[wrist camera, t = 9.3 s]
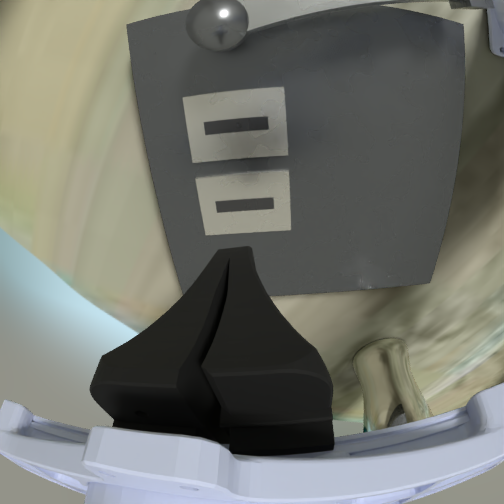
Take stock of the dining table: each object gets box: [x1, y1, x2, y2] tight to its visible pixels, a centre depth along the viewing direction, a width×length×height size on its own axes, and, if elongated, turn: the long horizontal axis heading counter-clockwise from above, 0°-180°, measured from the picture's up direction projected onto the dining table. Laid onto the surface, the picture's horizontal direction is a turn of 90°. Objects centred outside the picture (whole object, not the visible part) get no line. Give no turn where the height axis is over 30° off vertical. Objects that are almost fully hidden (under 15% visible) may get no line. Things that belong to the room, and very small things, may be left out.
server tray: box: [127, 5, 465, 296], centre depth 16 cm, size 18×18×4 cm
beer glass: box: [353, 338, 433, 433], centre depth 23 cm, size 7×7×15 cm
